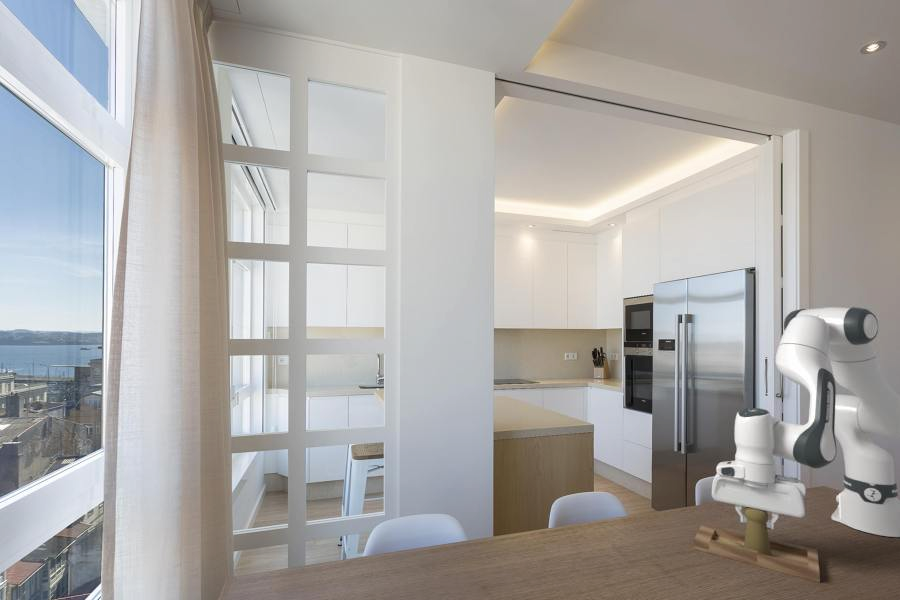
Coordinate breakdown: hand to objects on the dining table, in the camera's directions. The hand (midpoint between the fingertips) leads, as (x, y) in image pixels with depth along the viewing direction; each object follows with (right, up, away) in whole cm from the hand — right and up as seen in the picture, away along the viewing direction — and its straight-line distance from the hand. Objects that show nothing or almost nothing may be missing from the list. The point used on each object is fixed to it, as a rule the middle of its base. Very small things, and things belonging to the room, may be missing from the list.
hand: (757, 525), depth 118 cm
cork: (0, -7, -1) cm, 7 cm away
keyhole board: (-1, -7, 0) cm, 7 cm away
